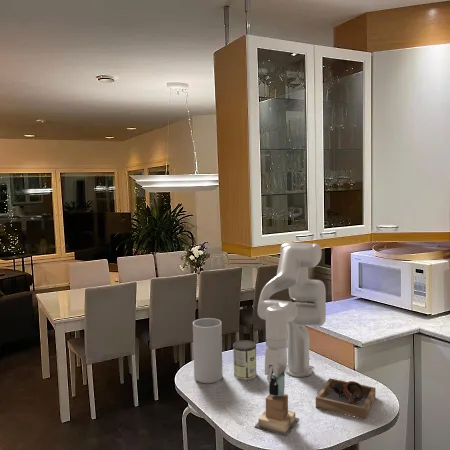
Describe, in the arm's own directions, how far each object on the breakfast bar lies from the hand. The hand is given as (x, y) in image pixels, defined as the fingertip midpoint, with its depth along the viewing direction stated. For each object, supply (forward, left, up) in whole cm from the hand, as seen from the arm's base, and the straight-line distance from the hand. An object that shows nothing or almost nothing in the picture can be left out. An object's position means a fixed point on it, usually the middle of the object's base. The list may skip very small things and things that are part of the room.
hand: (276, 390), depth 157 cm
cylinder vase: (-20, -41, -12) cm, 47 cm away
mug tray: (-26, +18, -12) cm, 34 cm away
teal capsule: (0, 0, -1) cm, 1 cm away
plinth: (0, 0, -12) cm, 12 cm away
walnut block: (0, 0, -9) cm, 9 cm away
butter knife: (-1, -22, -13) cm, 26 cm away
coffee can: (-30, -28, -13) cm, 43 cm away
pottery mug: (-29, +18, -13) cm, 36 cm away
